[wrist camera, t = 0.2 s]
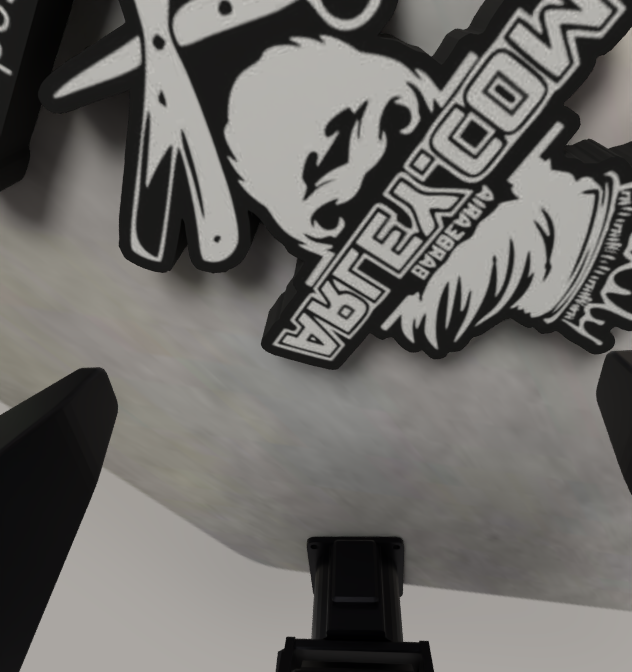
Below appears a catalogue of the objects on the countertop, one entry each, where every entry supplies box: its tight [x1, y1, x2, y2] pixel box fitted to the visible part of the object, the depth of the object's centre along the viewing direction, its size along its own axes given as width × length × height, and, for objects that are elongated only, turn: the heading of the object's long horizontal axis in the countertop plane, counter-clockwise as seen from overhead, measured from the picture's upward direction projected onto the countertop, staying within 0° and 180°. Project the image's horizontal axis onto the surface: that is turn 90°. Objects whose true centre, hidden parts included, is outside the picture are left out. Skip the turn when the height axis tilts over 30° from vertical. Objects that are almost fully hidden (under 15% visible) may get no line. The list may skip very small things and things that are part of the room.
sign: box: [0, 0, 632, 370], centre depth 20 cm, size 19×3×30 cm
